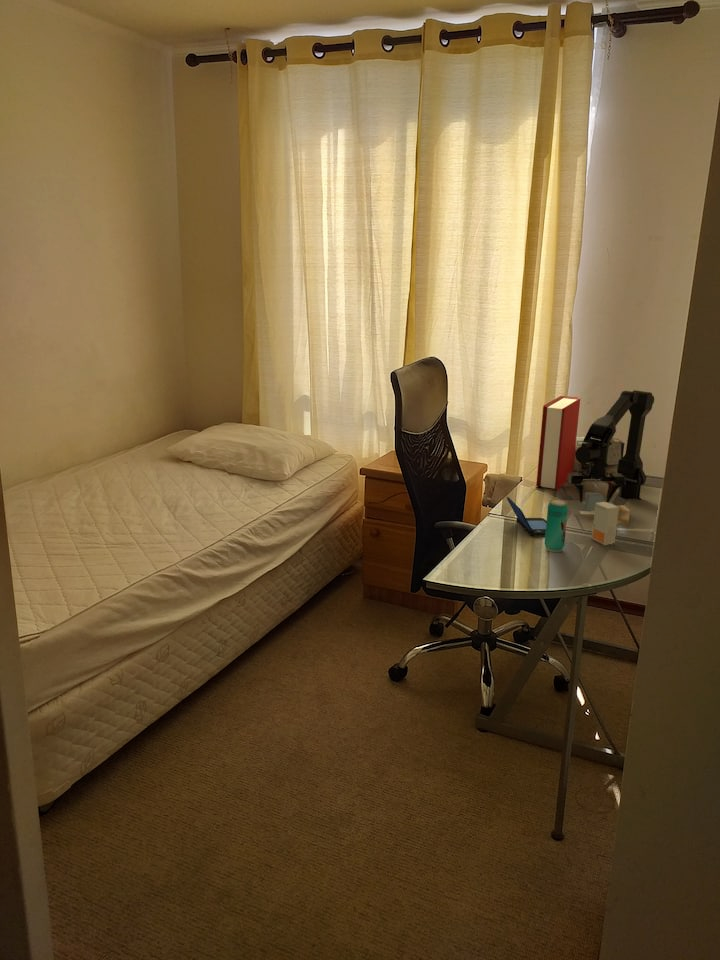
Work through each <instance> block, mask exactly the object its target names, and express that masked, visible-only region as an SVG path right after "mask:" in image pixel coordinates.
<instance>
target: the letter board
mask: <svg viewBox="0 0 720 960" xmlns="http://www.w3.org/2000/svg"><path fill="white" fill-rule="evenodd" d="M563 500H564V501H566V502H567V506H568V511H570V512H571V514H572V515H573V516H574V517H594V513H595V510H587V508H586V507H585V506H584V504H585V500H582V502H580V500H579V499H578V500H576V499H575V500H574V499H572V500H571V499H563ZM604 502H606V500H604ZM608 503H610V504H613V505H616V504H614V502H613V501H611V500H610V501H609V502H608Z"/></svg>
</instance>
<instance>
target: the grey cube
mask: <svg viewBox="0 0 720 960" xmlns="http://www.w3.org/2000/svg"><path fill="white" fill-rule="evenodd" d="M584 501H585V504H584V506H585V507H586V508H587V510H595V504H596V503H599V502H604V501H605V496H604V495H603V494H602V493H601V492H592V491H591V492H590V491H589V492H587V491H586V492H585V496H584Z"/></svg>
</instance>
